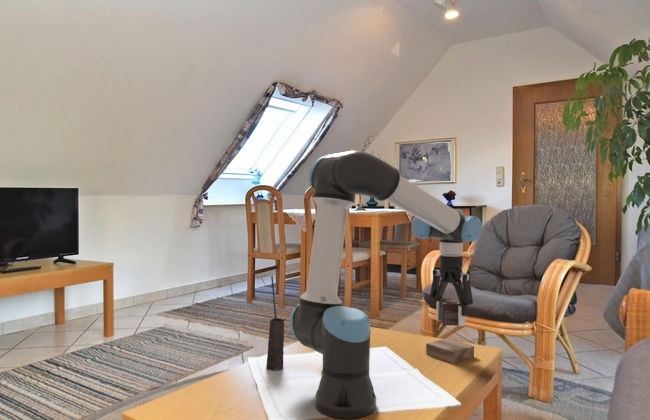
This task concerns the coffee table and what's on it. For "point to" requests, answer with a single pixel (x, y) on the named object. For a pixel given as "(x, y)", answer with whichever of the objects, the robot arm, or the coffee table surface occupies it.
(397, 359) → the coffee table surface
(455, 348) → the walnut block
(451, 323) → the box
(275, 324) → the butter churn
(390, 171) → the robot arm
